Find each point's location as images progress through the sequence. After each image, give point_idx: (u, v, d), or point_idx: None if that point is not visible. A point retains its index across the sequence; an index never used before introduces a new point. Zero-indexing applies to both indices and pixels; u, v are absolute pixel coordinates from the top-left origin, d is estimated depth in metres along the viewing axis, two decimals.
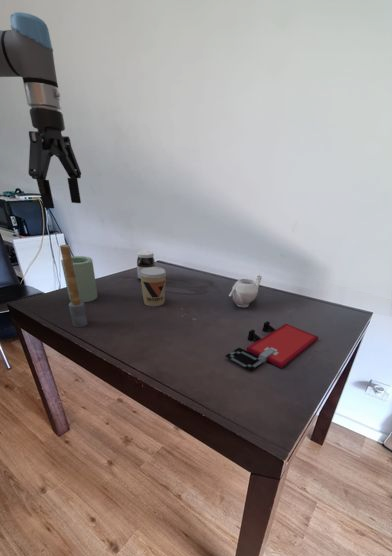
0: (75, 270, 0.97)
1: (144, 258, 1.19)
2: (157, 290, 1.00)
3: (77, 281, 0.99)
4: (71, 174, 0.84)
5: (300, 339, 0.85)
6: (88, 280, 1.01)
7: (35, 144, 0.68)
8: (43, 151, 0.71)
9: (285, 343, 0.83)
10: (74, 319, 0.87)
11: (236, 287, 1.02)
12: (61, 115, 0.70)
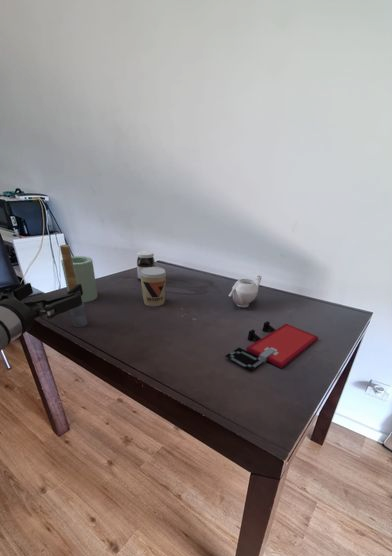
0: (75, 270, 0.97)
1: (144, 258, 1.19)
2: (157, 290, 1.00)
3: (77, 281, 0.99)
4: None
5: (300, 339, 0.85)
6: (88, 280, 1.01)
7: None
8: None
9: (285, 343, 0.83)
10: (74, 319, 0.87)
11: (236, 287, 1.02)
12: None
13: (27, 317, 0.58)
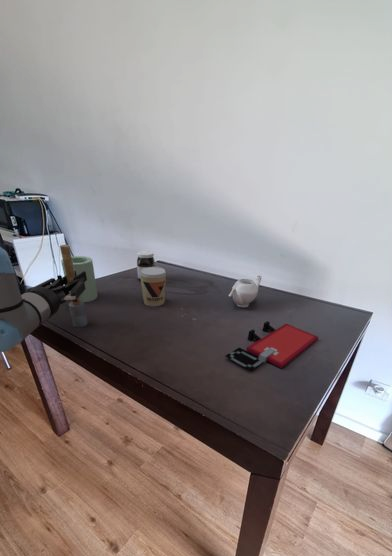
0: (75, 270, 0.97)
1: (144, 258, 1.19)
2: (157, 290, 1.00)
3: None
4: None
5: (300, 339, 0.85)
6: (88, 280, 1.01)
7: None
8: None
9: (285, 343, 0.83)
10: (74, 319, 0.87)
11: (236, 287, 1.02)
12: None
13: (54, 303, 0.68)
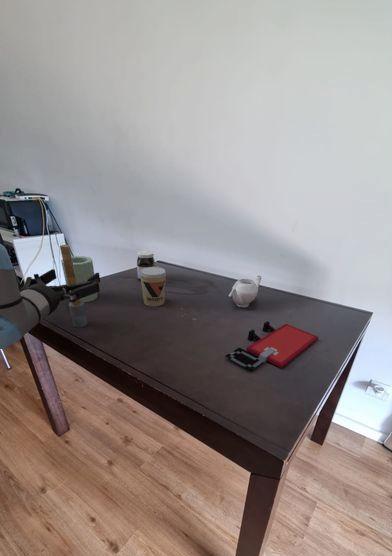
0: (75, 270, 0.97)
1: (144, 258, 1.19)
2: (157, 290, 1.00)
3: (77, 281, 0.99)
4: None
5: (300, 339, 0.85)
6: None
7: None
8: None
9: (285, 343, 0.83)
10: (74, 319, 0.87)
11: (236, 287, 1.02)
12: None
13: (53, 301, 0.68)
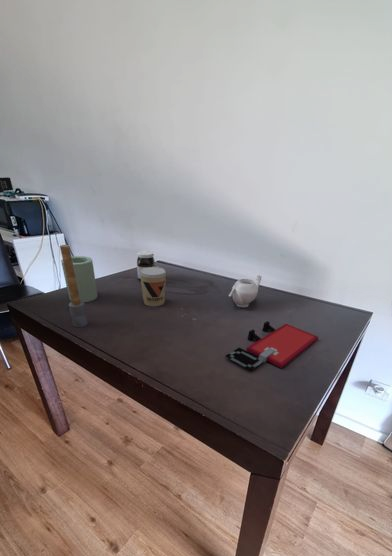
0: (75, 270, 0.97)
1: (144, 258, 1.19)
2: (157, 290, 1.00)
3: (77, 281, 0.99)
4: None
5: (300, 339, 0.85)
6: (88, 280, 1.01)
7: None
8: None
9: (285, 343, 0.83)
10: (74, 319, 0.87)
11: (236, 287, 1.02)
12: None
13: None
